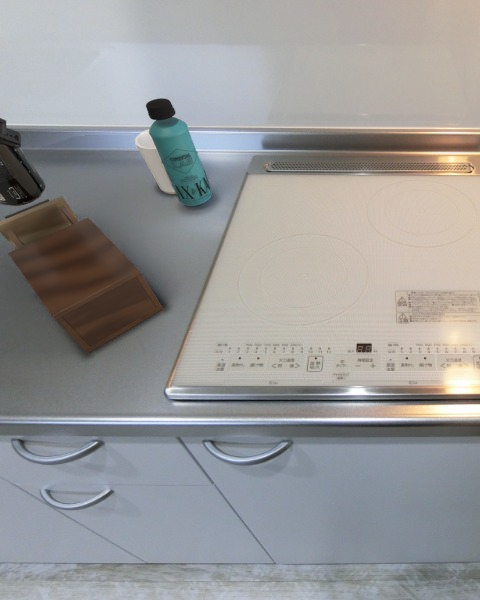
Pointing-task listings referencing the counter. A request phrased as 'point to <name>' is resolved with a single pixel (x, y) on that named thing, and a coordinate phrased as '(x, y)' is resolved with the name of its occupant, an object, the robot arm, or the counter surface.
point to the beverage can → (18, 178)
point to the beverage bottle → (178, 153)
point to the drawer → (37, 222)
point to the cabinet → (86, 283)
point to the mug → (154, 161)
